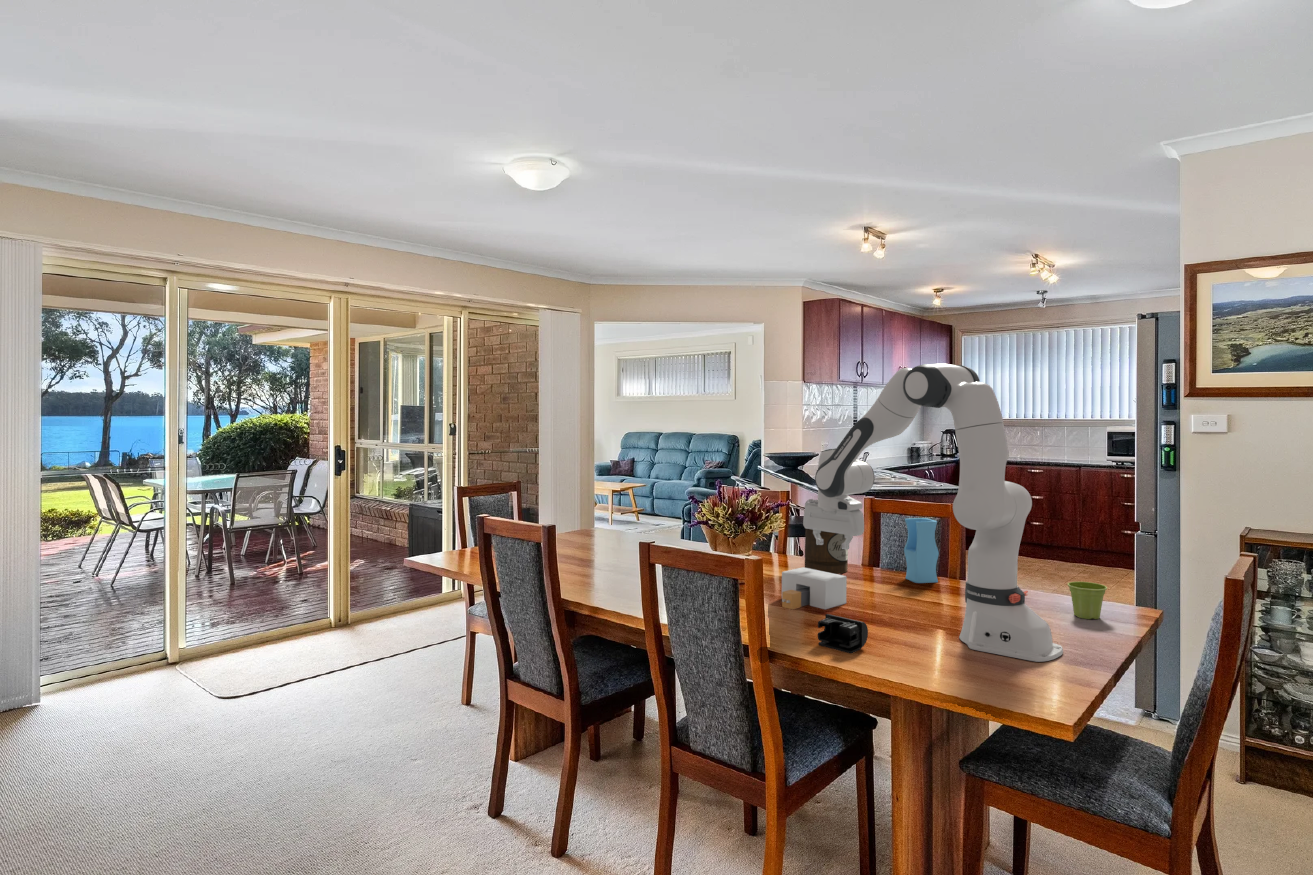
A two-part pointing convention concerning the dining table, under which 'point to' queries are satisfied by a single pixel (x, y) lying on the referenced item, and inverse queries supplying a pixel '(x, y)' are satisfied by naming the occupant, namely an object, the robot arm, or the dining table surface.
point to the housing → (817, 586)
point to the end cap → (842, 634)
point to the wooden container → (826, 552)
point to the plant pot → (1087, 599)
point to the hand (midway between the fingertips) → (832, 546)
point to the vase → (921, 550)
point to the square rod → (796, 598)
